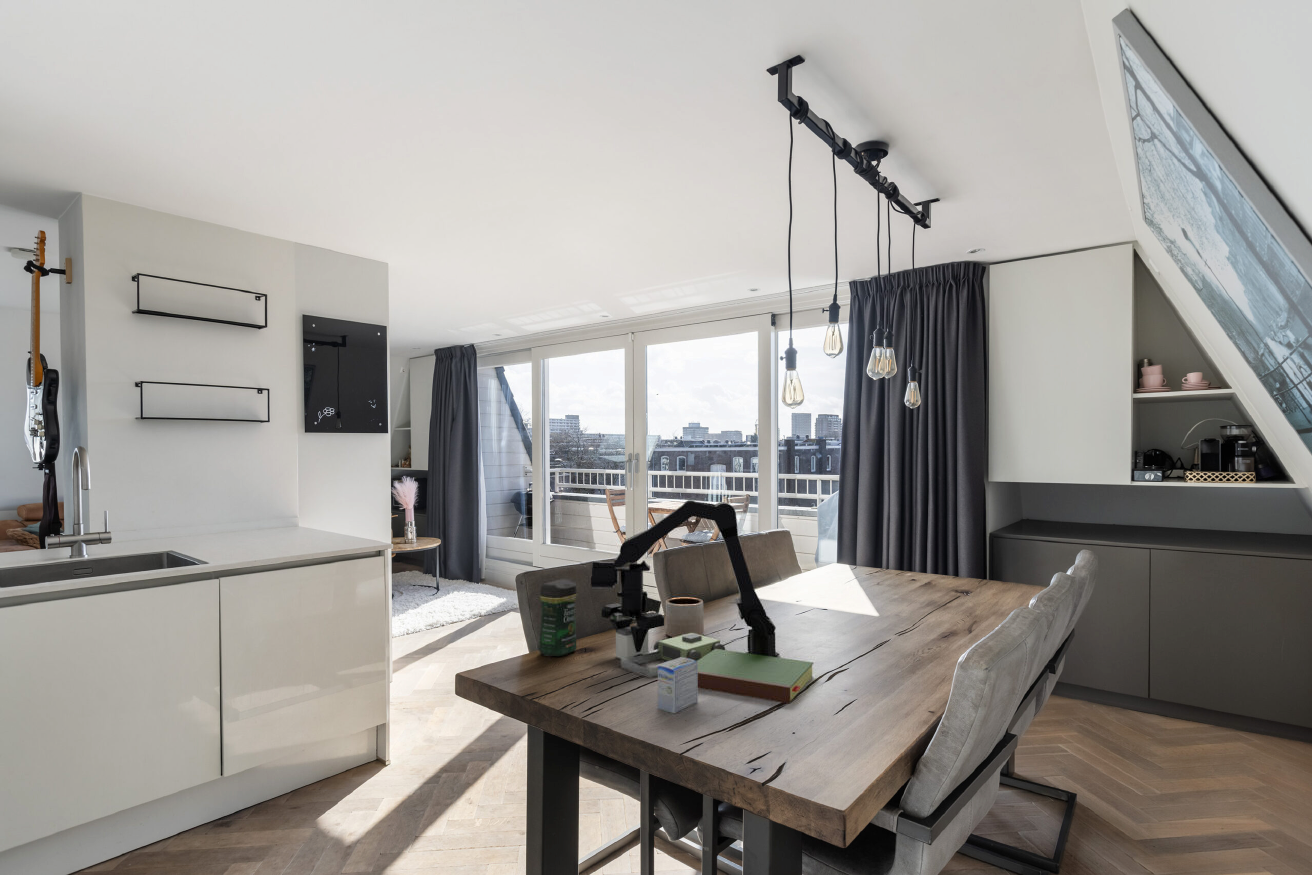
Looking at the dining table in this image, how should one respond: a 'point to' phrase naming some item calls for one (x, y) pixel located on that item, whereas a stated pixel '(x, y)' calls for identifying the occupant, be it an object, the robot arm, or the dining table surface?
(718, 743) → the dining table surface
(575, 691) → the dining table surface
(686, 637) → the green wheeled cart
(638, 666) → the gray rectangular open frame
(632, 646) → the chute block
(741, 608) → the robot arm
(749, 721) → the dining table surface
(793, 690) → the hardcover book
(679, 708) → the medicine box
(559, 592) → the coffee jar
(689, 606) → the planter
